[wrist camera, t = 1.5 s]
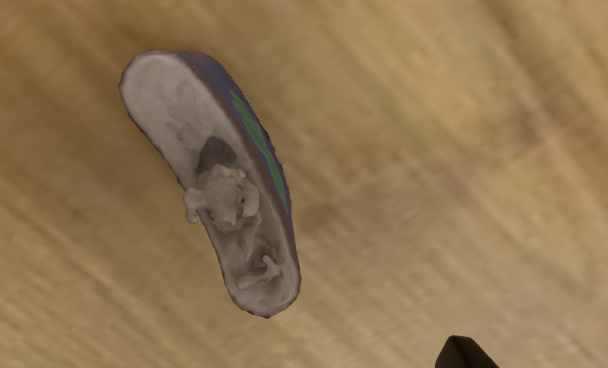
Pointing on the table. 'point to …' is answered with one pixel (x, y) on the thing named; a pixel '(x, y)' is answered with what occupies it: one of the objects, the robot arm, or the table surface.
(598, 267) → the table surface
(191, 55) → the flask
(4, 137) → the table surface
